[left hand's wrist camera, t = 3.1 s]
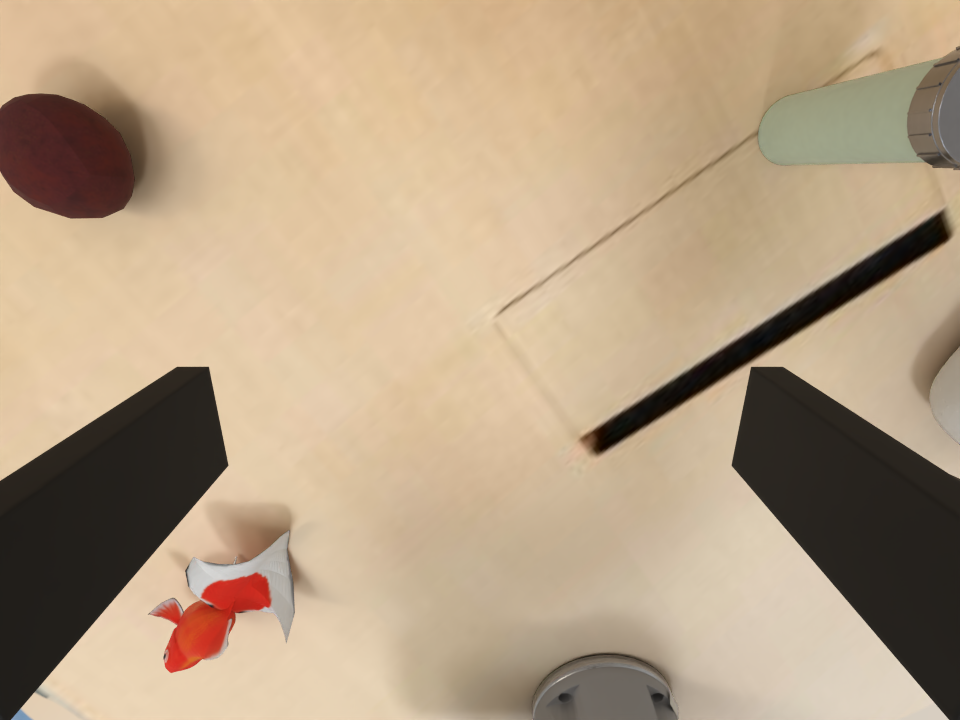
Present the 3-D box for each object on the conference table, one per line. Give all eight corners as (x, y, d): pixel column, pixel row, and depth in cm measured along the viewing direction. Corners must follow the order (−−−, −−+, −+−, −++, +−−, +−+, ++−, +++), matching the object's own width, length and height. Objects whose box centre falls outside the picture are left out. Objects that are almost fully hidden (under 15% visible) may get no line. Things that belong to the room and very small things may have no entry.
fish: (96, 592, 44) (89, 693, 37) (251, 475, 48) (274, 544, 40) (185, 639, 51) (195, 732, 43) (316, 532, 54) (347, 601, 47)
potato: (97, 79, 35) (7, 57, 28) (180, 179, 37) (115, 181, 30) (26, 144, 36) (-76, 137, 29) (110, 237, 38) (32, 250, 32)
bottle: (754, 106, 35) (937, 62, 21) (821, 85, 35) (1054, 26, 21) (761, 173, 37) (936, 174, 23) (825, 153, 36) (1045, 142, 22)
